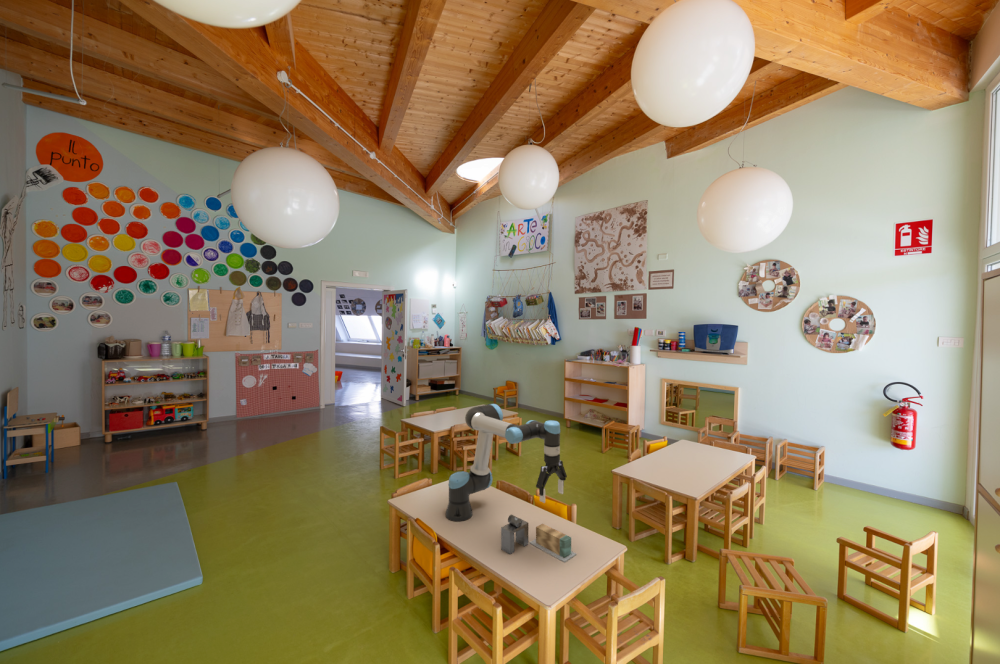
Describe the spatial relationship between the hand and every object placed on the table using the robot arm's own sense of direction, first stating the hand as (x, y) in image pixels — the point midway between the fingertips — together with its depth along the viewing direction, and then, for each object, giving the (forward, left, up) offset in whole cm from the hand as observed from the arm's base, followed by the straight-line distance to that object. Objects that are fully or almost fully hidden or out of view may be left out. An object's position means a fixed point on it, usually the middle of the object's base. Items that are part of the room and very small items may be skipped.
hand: (551, 497), depth 199 cm
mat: (-1, +2, -27) cm, 27 cm away
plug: (-1, +2, -26) cm, 26 cm away
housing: (-15, -10, -27) cm, 32 cm away
